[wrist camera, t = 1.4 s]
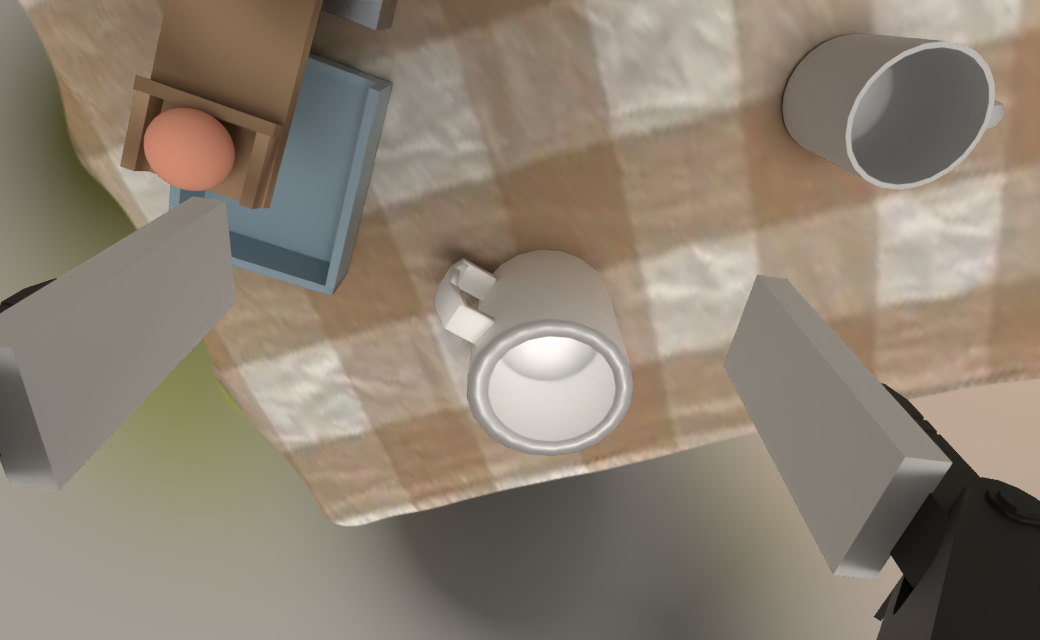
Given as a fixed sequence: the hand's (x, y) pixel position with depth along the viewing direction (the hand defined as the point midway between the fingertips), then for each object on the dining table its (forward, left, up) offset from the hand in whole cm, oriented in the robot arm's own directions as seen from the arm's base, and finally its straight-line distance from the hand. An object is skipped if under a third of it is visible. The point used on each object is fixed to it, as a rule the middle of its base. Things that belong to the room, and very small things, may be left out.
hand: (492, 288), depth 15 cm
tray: (0, -15, -27) cm, 31 cm away
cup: (+3, +22, -27) cm, 35 cm away
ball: (-3, -13, -13) cm, 19 cm away
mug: (+14, -1, -27) cm, 30 cm away
